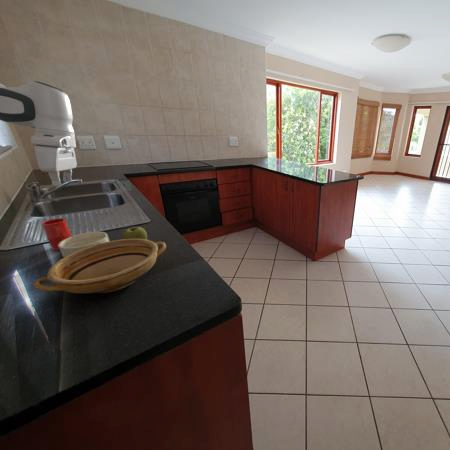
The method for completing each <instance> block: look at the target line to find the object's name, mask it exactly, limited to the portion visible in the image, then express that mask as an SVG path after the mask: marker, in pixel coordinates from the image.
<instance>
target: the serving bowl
mask: <svg viewBox="0 0 450 450" xmlns="http://www.w3.org/2000/svg"><path fill="white" fill-rule="evenodd" d="M109 241H111V240H110V238H109V235H108V233H107V232H104V231H90V232H84V233H79V234H75V235H72V237H69V238H67V239H64V240H62V241H61V242H60V243H59V244H58V247H59V249H60V250H59V252H60V254H61V256H62V257H63V258H64V257H66V256H68V255H70V254H72V253H74V252H76V251H79V250H81V249H84V248H87V247H90V246H93V245H96V244H100V243H104V242H109Z"/></svg>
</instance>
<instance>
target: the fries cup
mask: <svg viewBox="0 0 450 450" xmlns="http://www.w3.org/2000/svg"><path fill="white" fill-rule="evenodd" d="M41 226H42V229H43V231H44V234H45V236H46V238H47V241H48V243H49V245H50V247H51V249H52V250H53V251H60V249H59V247H58V244H59V243H60V242H61V241H62V240H64V239H67V238H69V237H72V236H73V235H72V233H71V230H70V228H69V225H68V224H67V221H66V218H53V219H49V220H44V221H43V222H41Z"/></svg>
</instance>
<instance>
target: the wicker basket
mask: <svg viewBox="0 0 450 450" xmlns="http://www.w3.org/2000/svg"><path fill="white" fill-rule="evenodd" d="M160 246H161V248H160V249H159V247H160ZM166 249H167V244H166V243H165V242H164V241H156V242H154V241H152V240H150V239H147V240H145V239H122V238H121V239H115V240H110V241H109V242H104V243H100V244H96V245H93V246H90V247H87V248H84V249H81V250H79V251H76V252H74V253H72V254H70V255H68V256H66V257H63V258H61V259H59V260H58V261H56V262H55V263H54V264H53V265H52V266H51V267H50V268H49V269H48V270H47V276H43V277H40V278H38V279H36V280H35V281H34V283H33V287H34V288H35V289H36V290H38V291H42V292H58V291H59V292H60V291H61V292H62V291H65V292H68V293H71V294H77V295H93V294H106V293H112V292H116V291H120V290H123V289H125V288H127V287H128V286H130V285H133V283H135V282H136V281H137V280H139V279H140V278H142V277H144V276H146V274H147V273H149V272H150V270H151V269H152V268H153V267H154V265H155V264H156V262H157V258H158V257H159V256H161V255H162V254H163V253H164V252H165V251H166ZM49 282H53V284H54V285H45V283H49ZM43 284H44V285H43Z"/></svg>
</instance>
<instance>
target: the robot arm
mask: <svg viewBox="0 0 450 450" xmlns="http://www.w3.org/2000/svg"><path fill="white" fill-rule="evenodd" d="M72 110H73V109H72V104H71V101H70V98H69V95H68V93H66V91H64V90H63V89H60V88H58V87H56V86H53V85H52V84H51V85H50V84H47V83H45V82H41V81H36V80H35V81H34V80H33V81H30V82H28V83H27V84H23V85H19V86H10V87H8V86H7V85H5V84H3V83H1V82H0V121H2V122H5V123H6V124H7V123H8V124H11V125H12V124H13V125H17V126H22V127H23V126H24V127H29V128H33V129H34V131H35V132H34V134H33V135H31V136H30V143H31V145H34V153H35V158H36V162H37V163H36V164H37V166H38V168H39V170H40V171H41V172H45V173H46V172H47V173H48V176H49V178H50V180H51V185H52V186H54V187H55V186H56V187H57V186H58V187H59V186H61V185H62V180H63V182H64V183H71V182H72V175H73V169H77V166H78V163H77V156H76V151H75V148H77V141H76V134H75V132H76V131H75V130H74V128H73V121H74V117H73V111H72ZM60 172H62V173H63V176H62V179H61V178H60Z"/></svg>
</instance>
